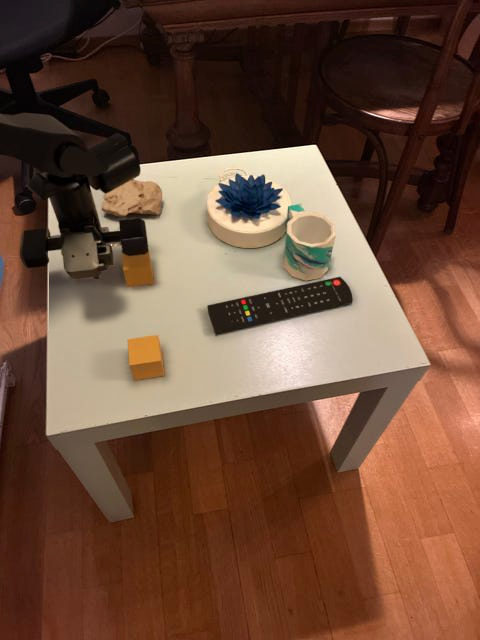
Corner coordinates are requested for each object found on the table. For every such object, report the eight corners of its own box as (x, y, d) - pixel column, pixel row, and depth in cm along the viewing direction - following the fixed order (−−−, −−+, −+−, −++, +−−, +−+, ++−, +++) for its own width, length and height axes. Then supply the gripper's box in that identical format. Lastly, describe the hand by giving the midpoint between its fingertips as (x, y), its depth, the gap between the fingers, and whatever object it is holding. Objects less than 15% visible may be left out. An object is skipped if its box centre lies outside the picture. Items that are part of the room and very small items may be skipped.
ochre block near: (164, 375, 73) (161, 360, 69) (134, 380, 72) (129, 365, 68) (161, 350, 75) (158, 334, 71) (132, 355, 74) (127, 339, 71)
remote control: (207, 310, 80) (207, 305, 79) (341, 281, 84) (343, 275, 83) (215, 336, 77) (215, 331, 76) (354, 304, 81) (355, 299, 80)
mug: (290, 283, 83) (294, 249, 76) (270, 236, 90) (273, 200, 83) (335, 274, 84) (343, 240, 78) (312, 228, 91) (318, 192, 84)
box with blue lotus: (305, 211, 84) (269, 143, 95) (219, 228, 81) (191, 156, 92) (300, 239, 90) (266, 172, 101) (219, 256, 87) (193, 185, 98)
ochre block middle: (154, 283, 83) (150, 266, 79) (127, 287, 82) (122, 269, 78) (151, 264, 85) (148, 246, 82) (125, 267, 85) (121, 249, 81)
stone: (122, 186, 97) (117, 165, 93) (170, 206, 94) (167, 185, 90) (94, 213, 92) (87, 193, 88) (143, 234, 89) (139, 214, 85)
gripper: (0, 254, 63) (37, 323, 76) (144, 238, 66) (157, 307, 78) (7, 198, 69) (40, 270, 82) (138, 185, 72) (151, 257, 85)
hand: (97, 277), depth 82 cm, fingers closed
